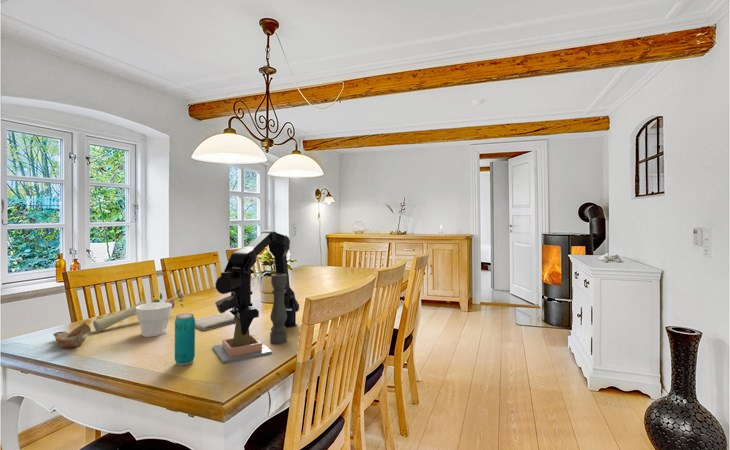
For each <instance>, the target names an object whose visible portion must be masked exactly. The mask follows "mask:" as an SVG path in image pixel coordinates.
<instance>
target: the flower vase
mask: <svg viewBox="0 0 730 450" xmlns="http://www.w3.org/2000/svg"><path fill="white" fill-rule="evenodd" d="M174 295H175V298H173V299H172V298H171V299H170V300H166V302H168V303H171V304H172V308H171V311H172V310H173V309H174V308H175V305H176V304H177V302H176V301H174V300H177V299H178V303H180V306H181V307H184V305H183V303H181V302H184V300H183V299H184V294H183V293H182V292H181V288H179V289H177V290H176V292H175V294H174ZM177 295H178V296H177ZM162 299H163V294H162V292H159V299H155V300H153V301H152V303H154V302H160V301H161V300H162ZM142 304H147V303H146V302H145V301H144V299H143V300H141V301H140V302H138V303H136V304H135V305H133V306H131V307H129V308H127V309H125V310H122V311H119V312H117V313H114V314H110V315H107V316H105V317H101V318H99V319H95V320H93V321H92V325H93V327H94V330H95V331H96V332H97V333H100V332H101V331H103V330H105V329H106V330H107V329H108V328H110V327H112V326H113V325H115V324H117V323H119V322H122V321H124V320H127V319H128V318H131V317H134V316H137V313H136V307H137V306H139V305H142Z"/></svg>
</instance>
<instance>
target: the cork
mask: <svg viewBox="0 0 730 450" xmlns="http://www.w3.org/2000/svg"><path fill="white" fill-rule="evenodd" d="M233 316H234V315H233ZM235 316H237V314H235ZM235 316H234V322H235V323H234V324H235V325H234V332H233V338H234V339H233V347H239V346H244V345H250V344H251V341H250V335H251V334H250V328H249V329H248V331H247V333H246V335H242V331H241V325H240V320H238V319H237V318H236V317H235Z"/></svg>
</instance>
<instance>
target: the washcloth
mask: <svg viewBox="0 0 730 450" xmlns="http://www.w3.org/2000/svg"><path fill="white" fill-rule="evenodd" d="M232 324H236V323H235V322H234V315H231V314H228V313H226V312H224V313H220V314H219V313H218V314H213V313H212V314H211V315H208V316H202V317H200V318H195V329H198V330H201V331H205V332H206V331H209V330H213V329H217V328H221V327H224V326H228V325H232Z"/></svg>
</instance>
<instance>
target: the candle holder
mask: <svg viewBox="0 0 730 450" xmlns="http://www.w3.org/2000/svg"><path fill="white" fill-rule="evenodd" d="M270 281H271V286H272V288H273V289H272V290H271V294H273V303H272V307H271V311H270V315H269V316H270V320H271V322H272V326H271V328H270V332H269V333H270V335H269V342H270V344H273V345H283V344H285V343H287V342H288V331H287V327H285V325H284V324H285V321H286V319H287V313H286V309H285V304H284V294H285V293H286V290H285V289H284V288H285V286H286V283H287V274H276V273H271V280H270Z"/></svg>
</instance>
